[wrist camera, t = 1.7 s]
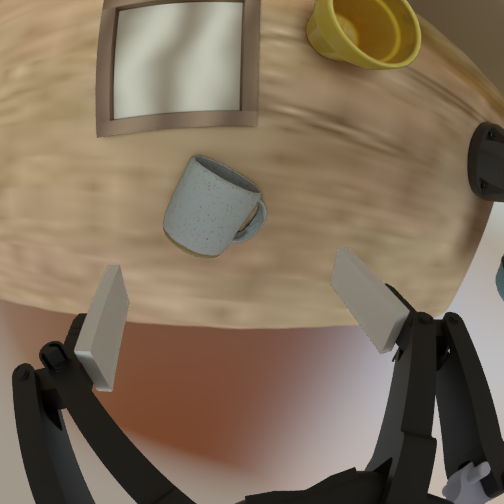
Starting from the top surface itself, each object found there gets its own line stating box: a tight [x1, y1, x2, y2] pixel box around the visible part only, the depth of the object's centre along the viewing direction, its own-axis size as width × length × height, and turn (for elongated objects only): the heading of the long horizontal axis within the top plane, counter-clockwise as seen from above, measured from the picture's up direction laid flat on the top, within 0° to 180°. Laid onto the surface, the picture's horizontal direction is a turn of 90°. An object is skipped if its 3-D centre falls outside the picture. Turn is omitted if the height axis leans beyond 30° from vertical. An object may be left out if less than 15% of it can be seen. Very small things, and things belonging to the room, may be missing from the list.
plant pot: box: [306, 0, 421, 70], centre depth 19 cm, size 10×10×10 cm
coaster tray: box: [96, 0, 260, 138], centre depth 21 cm, size 16×16×2 cm
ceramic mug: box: [163, 155, 267, 258], centre depth 27 cm, size 11×8×8 cm
